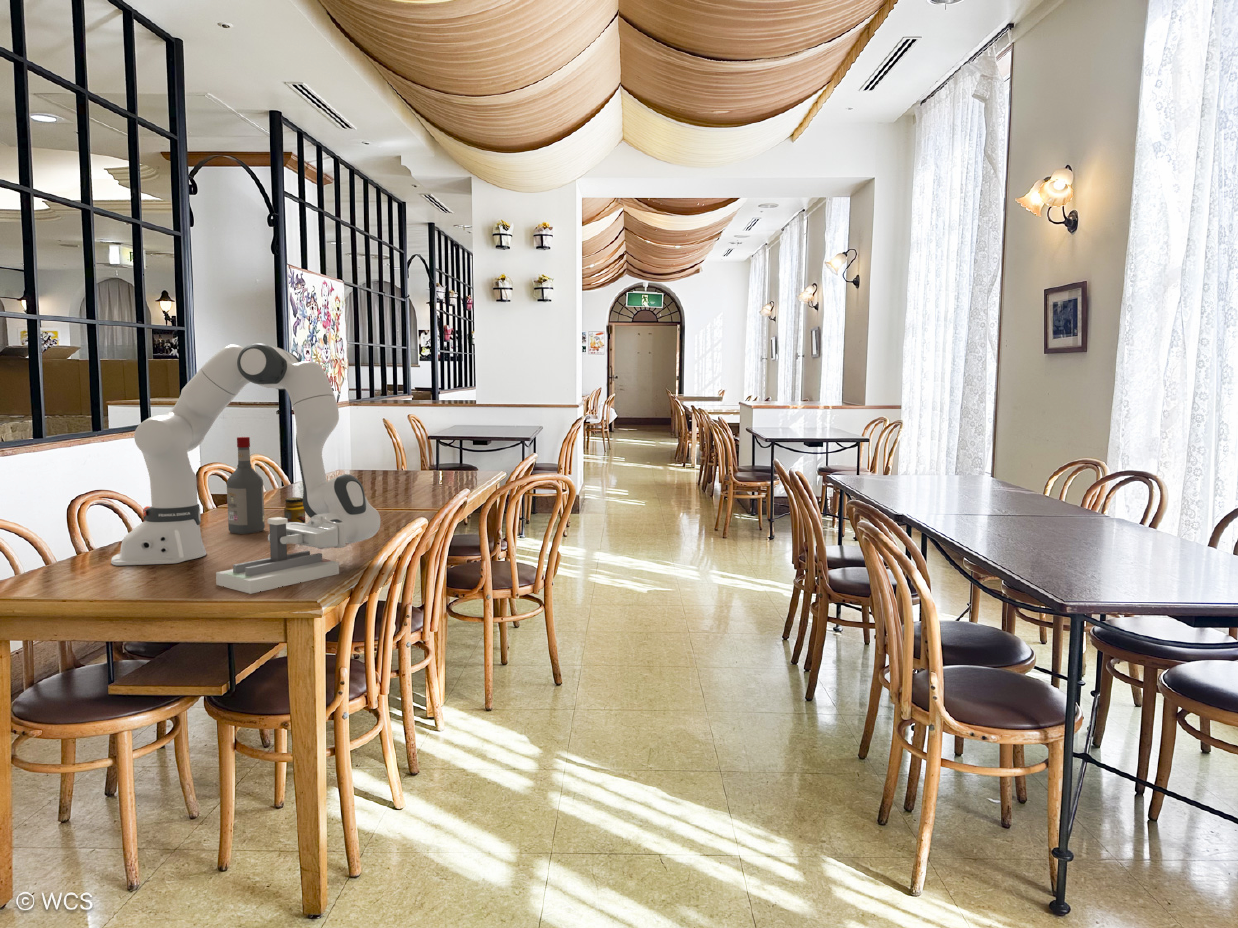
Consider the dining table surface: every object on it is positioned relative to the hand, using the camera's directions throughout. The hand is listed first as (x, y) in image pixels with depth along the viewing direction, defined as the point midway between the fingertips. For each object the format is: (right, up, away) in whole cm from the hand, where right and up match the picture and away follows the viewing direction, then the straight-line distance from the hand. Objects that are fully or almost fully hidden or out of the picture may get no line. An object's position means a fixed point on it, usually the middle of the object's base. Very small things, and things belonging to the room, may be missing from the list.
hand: (274, 539), depth 200 cm
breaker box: (0, -10, +2) cm, 10 cm away
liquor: (-35, -3, +63) cm, 73 cm away
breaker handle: (0, -7, +1) cm, 7 cm away
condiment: (-17, -4, +55) cm, 58 cm away
